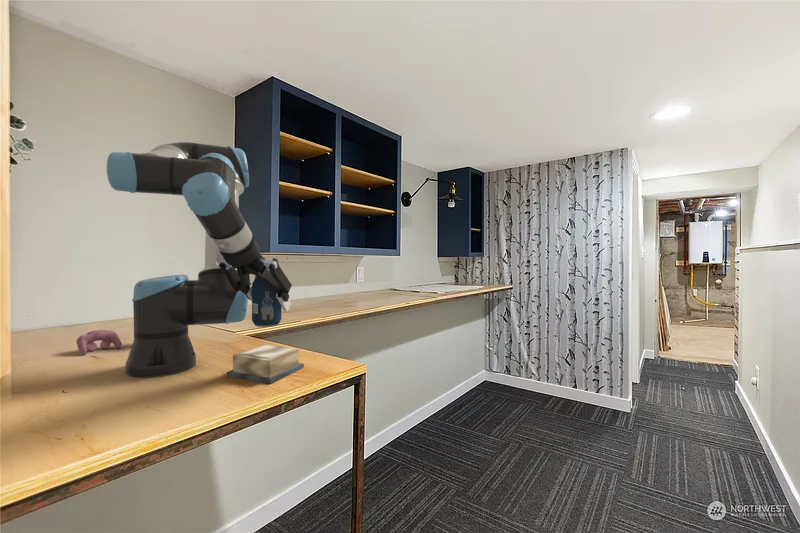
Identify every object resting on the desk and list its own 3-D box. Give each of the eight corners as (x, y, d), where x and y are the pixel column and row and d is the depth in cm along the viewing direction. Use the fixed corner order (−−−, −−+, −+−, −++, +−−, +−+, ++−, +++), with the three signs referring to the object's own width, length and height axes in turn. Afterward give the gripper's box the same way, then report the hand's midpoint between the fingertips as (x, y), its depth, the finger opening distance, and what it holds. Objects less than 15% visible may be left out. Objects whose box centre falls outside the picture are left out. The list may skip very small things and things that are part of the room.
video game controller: (118, 351, 114) (114, 329, 115) (123, 347, 111) (119, 324, 113) (77, 359, 106) (72, 335, 107) (81, 354, 103) (77, 330, 105)
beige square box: (226, 376, 90) (226, 354, 90) (263, 361, 103) (263, 342, 102) (270, 384, 86) (270, 361, 86) (303, 367, 98) (304, 347, 98)
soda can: (270, 320, 98) (270, 275, 98) (287, 324, 94) (287, 276, 94) (246, 324, 93) (246, 276, 92) (263, 328, 89) (263, 278, 88)
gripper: (185, 253, 79) (233, 316, 96) (272, 256, 76) (305, 320, 93) (202, 230, 84) (245, 293, 101) (285, 231, 81) (314, 296, 97)
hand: (274, 306), depth 97 cm, fingers closed on soda can, 7 cm apart
